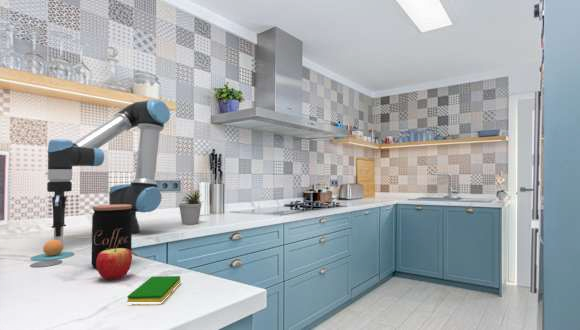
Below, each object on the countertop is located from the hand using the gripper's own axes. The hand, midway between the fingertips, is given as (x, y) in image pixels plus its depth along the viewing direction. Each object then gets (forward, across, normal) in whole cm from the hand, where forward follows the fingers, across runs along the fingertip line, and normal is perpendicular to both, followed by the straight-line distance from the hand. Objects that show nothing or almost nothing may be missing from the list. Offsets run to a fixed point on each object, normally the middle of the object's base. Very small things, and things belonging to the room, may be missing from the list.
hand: (58, 244), depth 122 cm
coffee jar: (+2, +34, +18) cm, 38 cm away
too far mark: (+2, +22, 0) cm, 22 cm away
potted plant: (+2, -48, +57) cm, 74 cm away
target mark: (+2, +11, 0) cm, 11 cm away
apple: (+2, +49, +19) cm, 53 cm away
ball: (-1, +11, 0) cm, 11 cm away
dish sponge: (+3, +66, +28) cm, 72 cm away
